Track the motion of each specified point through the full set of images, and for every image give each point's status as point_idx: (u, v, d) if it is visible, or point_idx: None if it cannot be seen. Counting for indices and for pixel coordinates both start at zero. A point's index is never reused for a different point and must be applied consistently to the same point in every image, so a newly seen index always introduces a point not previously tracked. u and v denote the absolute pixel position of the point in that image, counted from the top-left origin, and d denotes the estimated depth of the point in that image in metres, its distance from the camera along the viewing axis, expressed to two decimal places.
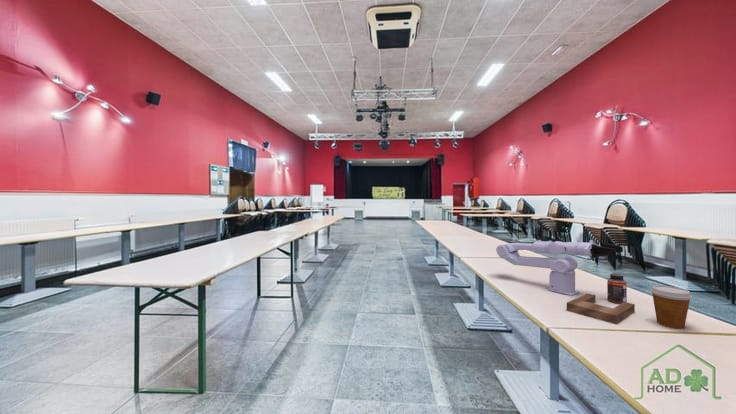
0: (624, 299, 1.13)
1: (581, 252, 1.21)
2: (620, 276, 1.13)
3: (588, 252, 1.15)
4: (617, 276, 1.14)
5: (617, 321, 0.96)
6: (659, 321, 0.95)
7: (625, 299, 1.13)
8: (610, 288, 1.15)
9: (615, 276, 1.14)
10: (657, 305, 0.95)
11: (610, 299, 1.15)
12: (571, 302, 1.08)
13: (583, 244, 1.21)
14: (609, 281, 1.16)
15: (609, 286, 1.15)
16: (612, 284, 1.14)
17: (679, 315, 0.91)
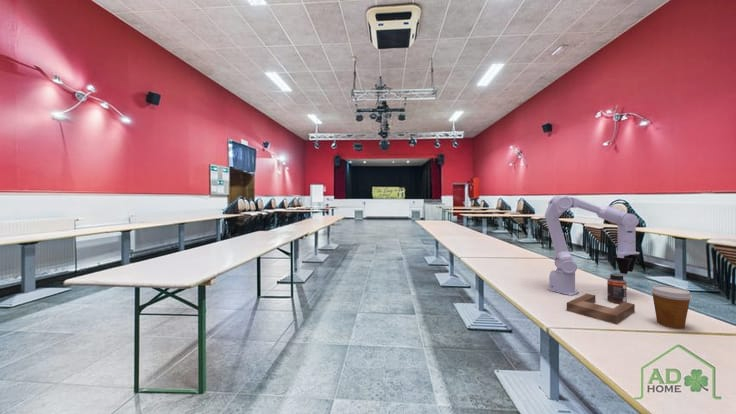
0: (624, 299, 1.13)
1: (620, 245, 1.20)
2: (620, 276, 1.13)
3: (619, 256, 1.17)
4: (617, 276, 1.14)
5: (617, 321, 0.96)
6: (659, 321, 0.95)
7: (625, 299, 1.13)
8: (610, 288, 1.15)
9: (615, 276, 1.14)
10: (657, 305, 0.95)
11: (610, 299, 1.15)
12: (571, 302, 1.08)
13: (631, 247, 1.18)
14: (609, 281, 1.16)
15: (609, 286, 1.15)
16: (612, 284, 1.14)
17: (679, 315, 0.91)
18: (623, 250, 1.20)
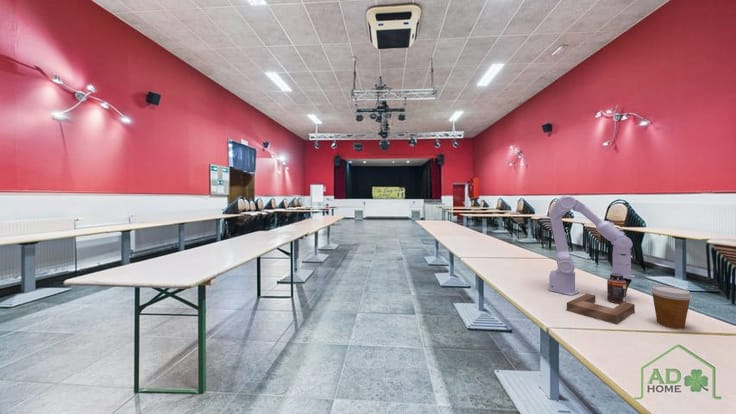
0: (624, 299, 1.12)
1: (615, 268, 1.18)
2: (620, 276, 1.13)
3: None
4: (617, 276, 1.14)
5: (617, 321, 0.96)
6: (659, 321, 0.95)
7: (625, 299, 1.13)
8: (610, 288, 1.15)
9: (615, 276, 1.14)
10: (657, 305, 0.95)
11: (610, 299, 1.15)
12: (571, 302, 1.08)
13: (627, 271, 1.15)
14: (609, 281, 1.15)
15: (609, 286, 1.15)
16: (612, 284, 1.14)
17: (679, 315, 0.91)
18: (618, 273, 1.17)
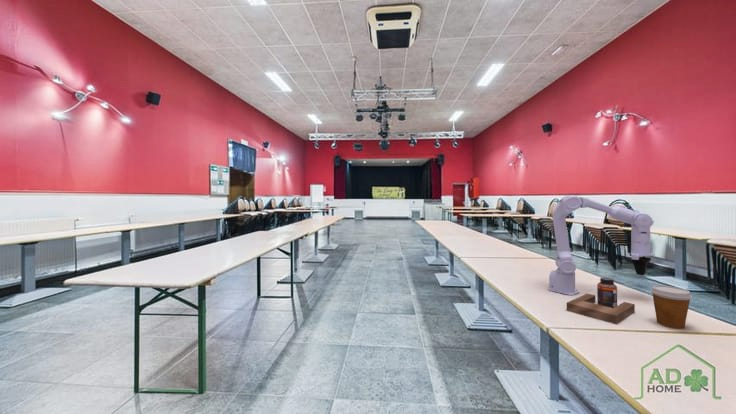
0: (614, 304, 1.07)
1: (634, 246, 1.17)
2: (610, 280, 1.08)
3: (633, 258, 1.14)
4: (607, 280, 1.09)
5: (617, 321, 0.96)
6: (659, 321, 0.95)
7: (615, 304, 1.08)
8: (600, 293, 1.10)
9: (605, 280, 1.09)
10: (657, 305, 0.95)
11: (600, 304, 1.10)
12: (571, 302, 1.08)
13: (646, 249, 1.14)
14: (599, 285, 1.10)
15: (599, 291, 1.10)
16: (602, 288, 1.09)
17: (679, 315, 0.91)
18: (637, 252, 1.16)
